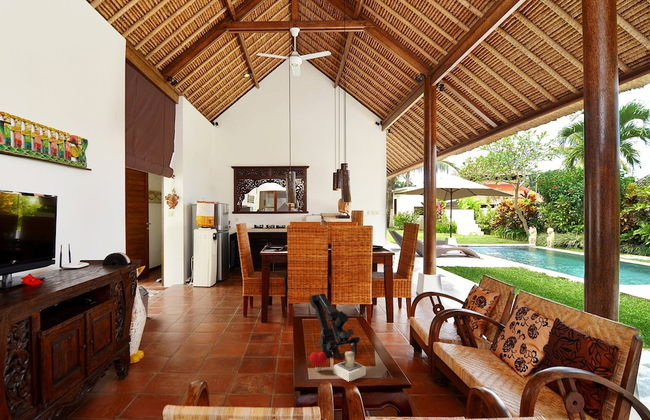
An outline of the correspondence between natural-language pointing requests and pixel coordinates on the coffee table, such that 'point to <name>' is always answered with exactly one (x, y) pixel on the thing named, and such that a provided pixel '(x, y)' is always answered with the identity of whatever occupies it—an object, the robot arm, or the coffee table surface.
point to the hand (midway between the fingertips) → (348, 358)
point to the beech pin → (349, 359)
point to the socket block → (349, 371)
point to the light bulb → (318, 359)
